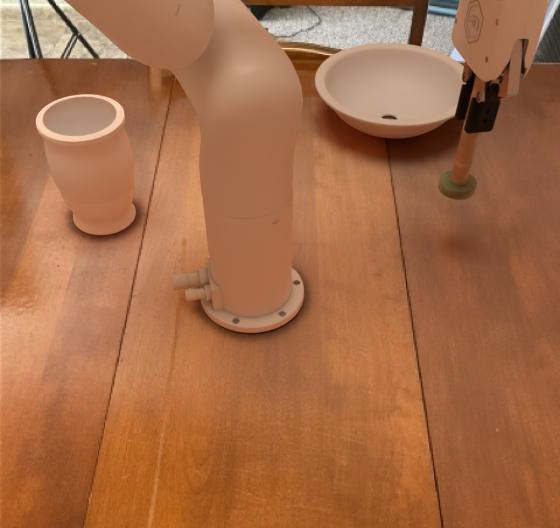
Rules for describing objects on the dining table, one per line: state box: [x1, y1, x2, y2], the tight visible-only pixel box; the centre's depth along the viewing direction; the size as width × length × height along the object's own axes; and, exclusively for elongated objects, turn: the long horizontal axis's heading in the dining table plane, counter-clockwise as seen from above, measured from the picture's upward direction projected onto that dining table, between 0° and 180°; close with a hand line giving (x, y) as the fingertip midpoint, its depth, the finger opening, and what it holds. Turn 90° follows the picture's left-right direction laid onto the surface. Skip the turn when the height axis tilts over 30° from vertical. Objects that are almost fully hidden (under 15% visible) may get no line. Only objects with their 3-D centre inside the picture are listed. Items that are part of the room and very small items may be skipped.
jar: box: [35, 93, 137, 236], centre depth 87 cm, size 11×10×15 cm
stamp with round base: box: [437, 75, 495, 201], centre depth 77 cm, size 4×4×14 cm
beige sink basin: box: [314, 42, 466, 139], centre depth 105 cm, size 24×24×7 cm
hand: (473, 123), depth 76 cm, fingers closed on stamp with round base, 2 cm apart
